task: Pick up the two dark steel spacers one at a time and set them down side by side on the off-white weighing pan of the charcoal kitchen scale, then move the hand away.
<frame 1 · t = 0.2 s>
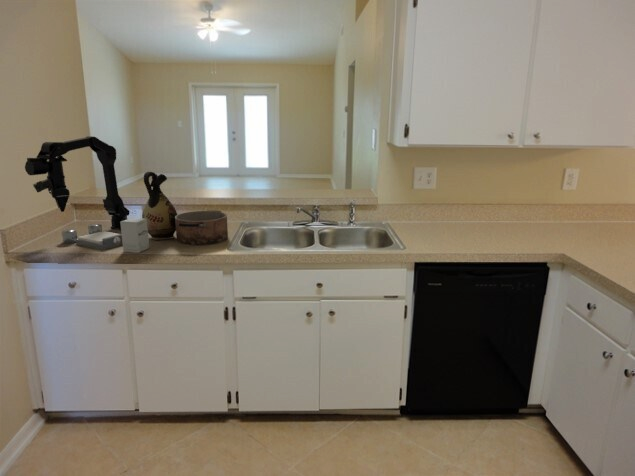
hand: (61, 209, 179), 14 cm above the counter, tool pointing down, fingers open, 9 cm apart
cooking pot: (202, 239, 189), on the counter
steel spacer A: (70, 242, 181), on the counter
kitchen scale: (104, 243, 180), on the counter
steel spacer B: (96, 235, 191), on the counter
supplement box: (136, 250, 171), on the counter
ceramic jug: (160, 238, 189), on the counter
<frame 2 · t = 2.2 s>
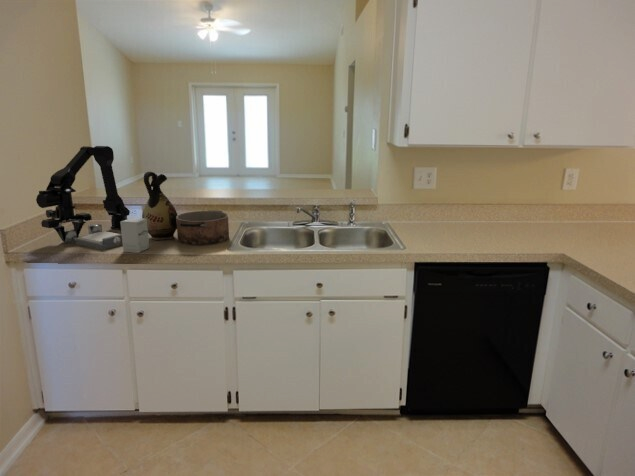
hand: (70, 239, 181), 1 cm above the counter, tool pointing down, fingers closed on steel spacer A, 5 cm apart
steel spacer A: (70, 241, 181), on the counter, touching gripper
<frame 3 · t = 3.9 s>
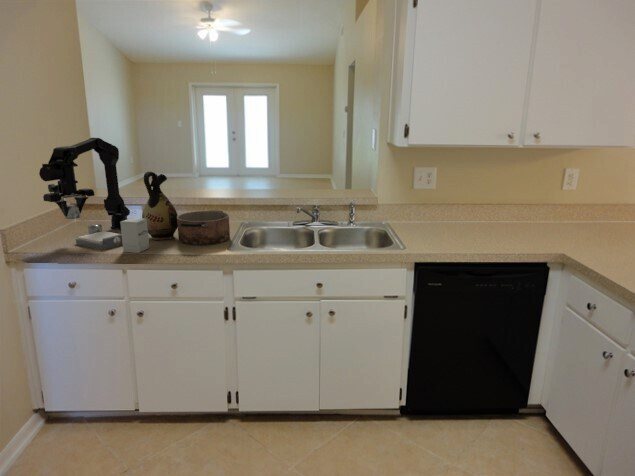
hand: (72, 215, 178), 12 cm above the counter, tool pointing down, fingers closed on steel spacer A, 5 cm apart
steel spacer A: (73, 217, 179), point 11 cm above the counter, touching gripper
when the fingers open (5 cm above the counter, at t = 6.0 s): steel spacer A drops 1 cm, resting on kitchen scale.
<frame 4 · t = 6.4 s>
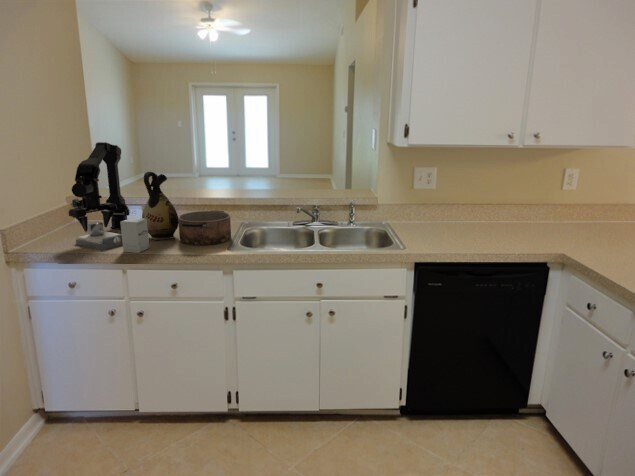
hand: (96, 229, 181), 5 cm above the counter, tool pointing down, fingers open, 9 cm apart
steel spacer A: (96, 235, 181), point 3 cm above the counter, touching kitchen scale
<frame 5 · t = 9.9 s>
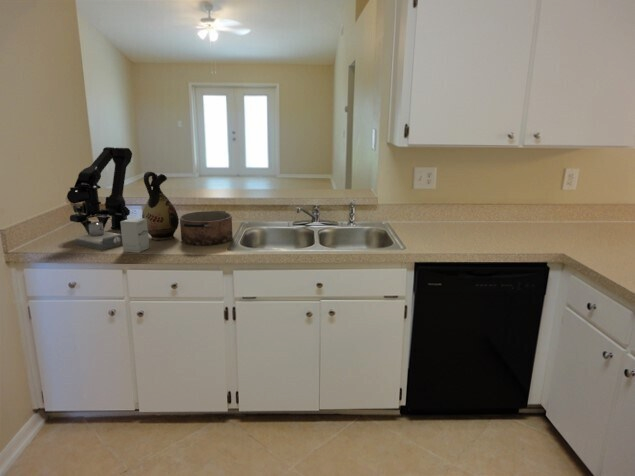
hand: (95, 233, 191), 1 cm above the counter, tool pointing down, fingers closed on steel spacer B, 5 cm apart
steel spacer B: (96, 235, 191), on the counter, touching gripper
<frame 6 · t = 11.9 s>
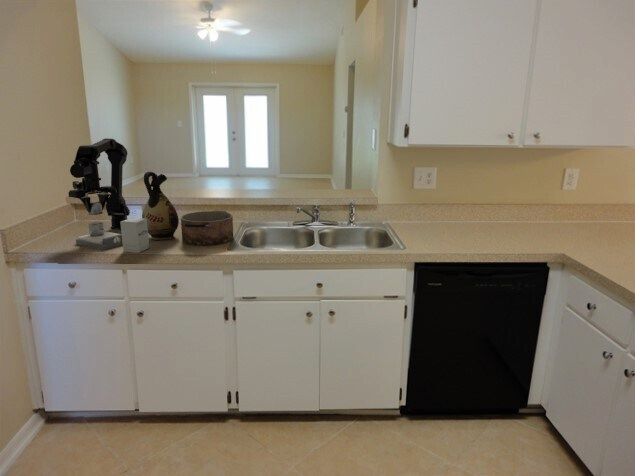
hand: (95, 211, 184), 12 cm above the counter, tool pointing down, fingers closed on steel spacer B, 5 cm apart
steel spacer B: (95, 213, 184), point 11 cm above the counter, touching gripper
when the fingers open (5 cm above the counter, at t = 14.2 s): steel spacer B drops 1 cm, resting on kitchen scale.
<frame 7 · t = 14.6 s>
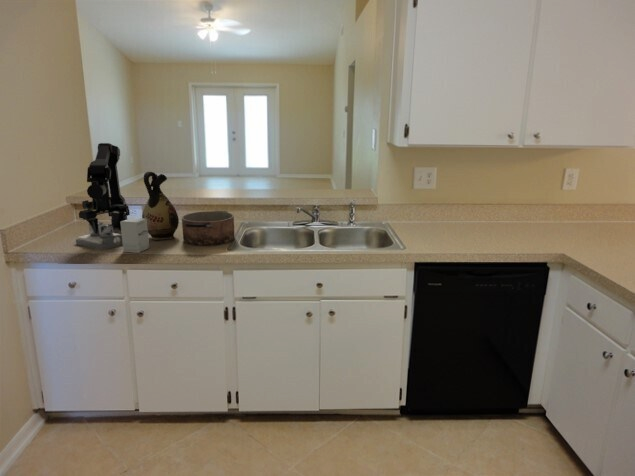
hand: (106, 231, 178), 5 cm above the counter, tool pointing down, fingers open, 9 cm apart
steel spacer B: (106, 236, 178), point 3 cm above the counter, touching kitchen scale
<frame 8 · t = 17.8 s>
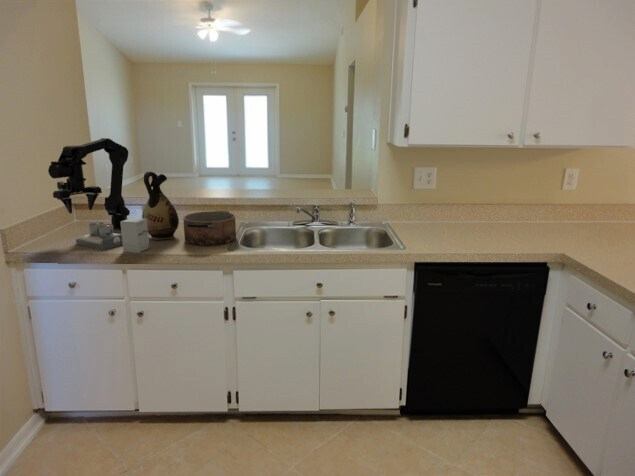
hand: (80, 211, 184), 12 cm above the counter, tool pointing down, fingers open, 9 cm apart
at the end: steel spacer A 0.2 cm from the target spot on the kitchen scale, point 3.1 cm above the kitchen scale's base; steel spacer B 0.4 cm from the target spot on the kitchen scale, point 3.0 cm above the kitchen scale's base; the gripper is holding nothing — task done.
